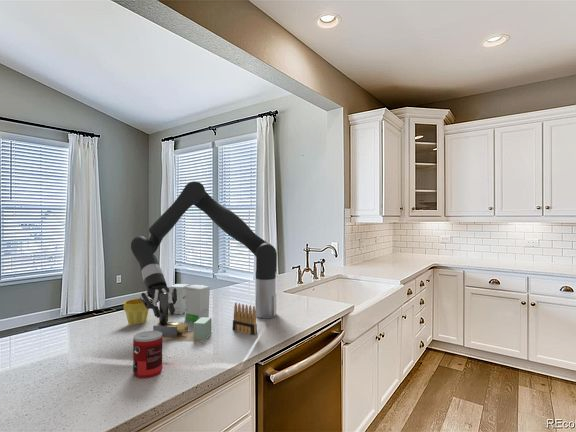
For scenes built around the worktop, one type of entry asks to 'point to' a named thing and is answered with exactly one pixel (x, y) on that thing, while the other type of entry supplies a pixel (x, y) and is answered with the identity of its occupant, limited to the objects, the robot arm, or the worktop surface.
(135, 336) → the canned food
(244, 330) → the ammunition clip
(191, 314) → the skincare box
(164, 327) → the grey bolt guide channel
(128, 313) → the plant pot
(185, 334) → the oak board
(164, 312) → the slide bolt
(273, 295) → the robot arm
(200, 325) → the socket block
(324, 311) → the worktop surface
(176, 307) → the supplement box
